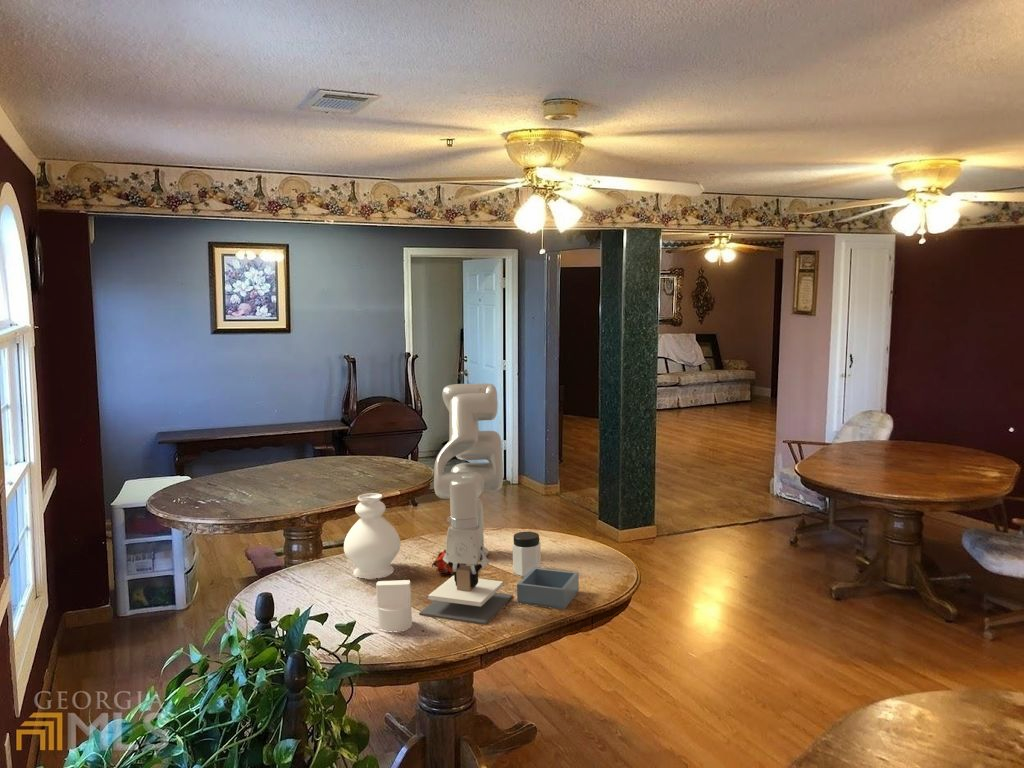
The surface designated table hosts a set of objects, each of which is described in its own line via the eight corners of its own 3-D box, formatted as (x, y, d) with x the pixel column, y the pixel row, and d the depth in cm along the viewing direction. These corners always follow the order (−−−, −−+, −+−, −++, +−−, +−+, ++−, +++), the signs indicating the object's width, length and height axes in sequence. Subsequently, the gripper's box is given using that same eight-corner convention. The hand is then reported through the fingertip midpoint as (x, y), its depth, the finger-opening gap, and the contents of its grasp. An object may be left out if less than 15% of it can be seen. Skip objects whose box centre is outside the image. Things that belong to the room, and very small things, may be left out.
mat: (419, 615, 218) (419, 612, 218) (451, 588, 237) (450, 586, 237) (485, 624, 211) (485, 622, 211) (512, 596, 230) (512, 594, 229)
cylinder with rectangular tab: (413, 617, 217) (411, 575, 215) (410, 632, 208) (408, 588, 206) (380, 619, 217) (378, 577, 215) (376, 633, 208) (373, 589, 206)
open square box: (517, 604, 225) (516, 584, 224) (534, 586, 238) (533, 567, 237) (564, 610, 220) (563, 590, 219) (578, 592, 233) (578, 572, 232)
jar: (546, 572, 248) (545, 535, 247) (526, 579, 243) (525, 541, 242) (527, 565, 255) (527, 529, 254) (508, 571, 250) (507, 534, 248)
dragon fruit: (472, 575, 252) (436, 586, 248) (463, 553, 258) (428, 564, 254) (472, 560, 246) (435, 570, 242) (464, 538, 252) (427, 548, 248)
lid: (428, 599, 219) (427, 574, 218) (453, 579, 234) (452, 555, 233) (480, 606, 213) (480, 580, 212) (503, 585, 228) (502, 561, 227)
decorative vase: (407, 577, 248) (404, 499, 244) (350, 586, 241) (346, 506, 238) (394, 559, 264) (391, 486, 261) (340, 567, 258) (336, 493, 254)
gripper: (431, 523, 221) (434, 586, 223) (486, 528, 214) (488, 593, 217) (443, 516, 227) (445, 577, 230) (496, 521, 221) (498, 583, 223)
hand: (466, 584), depth 223 cm, fingers closed on lid, 4 cm apart
